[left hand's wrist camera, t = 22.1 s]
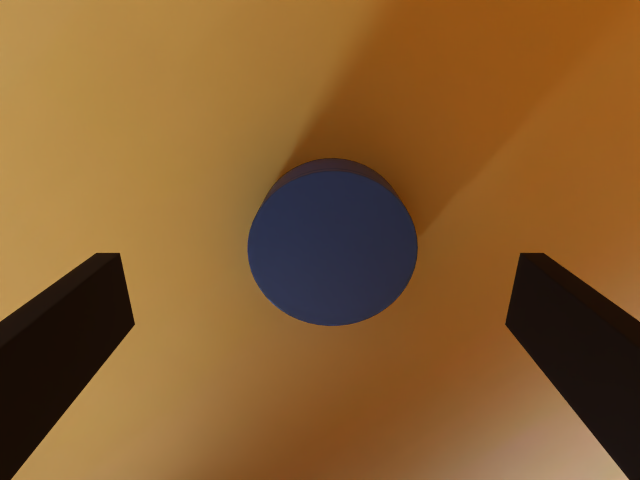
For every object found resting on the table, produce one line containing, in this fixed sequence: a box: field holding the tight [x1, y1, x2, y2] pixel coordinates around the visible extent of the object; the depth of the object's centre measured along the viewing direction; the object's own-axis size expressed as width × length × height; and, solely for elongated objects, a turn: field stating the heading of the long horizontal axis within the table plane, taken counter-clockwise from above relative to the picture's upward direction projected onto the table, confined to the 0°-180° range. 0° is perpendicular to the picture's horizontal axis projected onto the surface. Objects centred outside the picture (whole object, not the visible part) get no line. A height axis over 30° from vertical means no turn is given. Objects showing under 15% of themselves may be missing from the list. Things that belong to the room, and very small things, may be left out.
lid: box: [248, 158, 418, 326], centre depth 15 cm, size 6×6×2 cm
